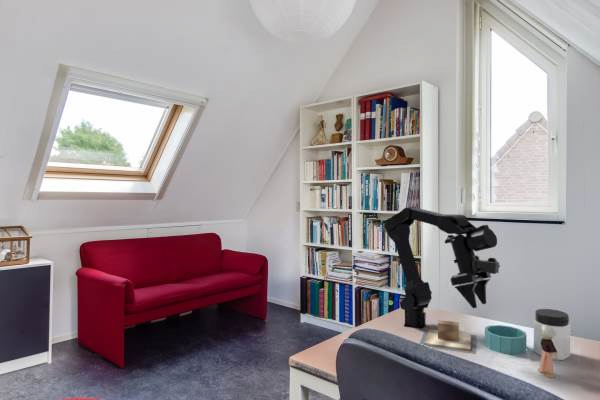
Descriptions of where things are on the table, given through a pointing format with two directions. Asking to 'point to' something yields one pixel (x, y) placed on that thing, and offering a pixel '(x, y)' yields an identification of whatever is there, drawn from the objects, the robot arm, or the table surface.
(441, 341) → the cover board
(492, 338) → the bowl
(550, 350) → the grandmother figurine
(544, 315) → the jar
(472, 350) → the mat
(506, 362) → the table surface
